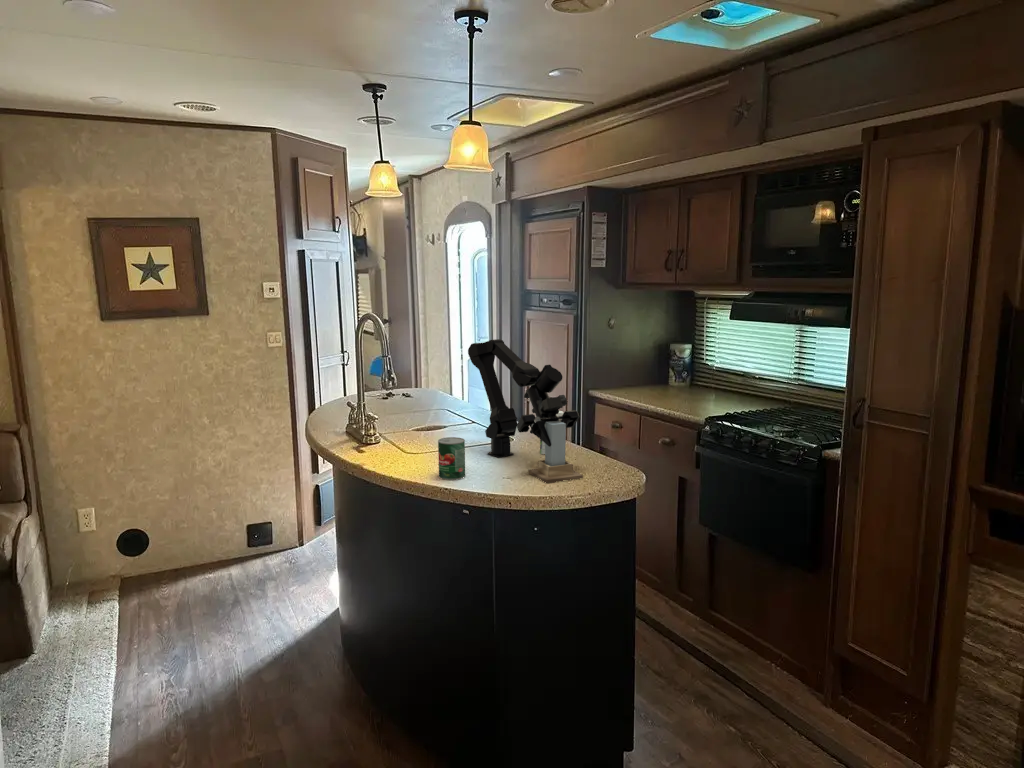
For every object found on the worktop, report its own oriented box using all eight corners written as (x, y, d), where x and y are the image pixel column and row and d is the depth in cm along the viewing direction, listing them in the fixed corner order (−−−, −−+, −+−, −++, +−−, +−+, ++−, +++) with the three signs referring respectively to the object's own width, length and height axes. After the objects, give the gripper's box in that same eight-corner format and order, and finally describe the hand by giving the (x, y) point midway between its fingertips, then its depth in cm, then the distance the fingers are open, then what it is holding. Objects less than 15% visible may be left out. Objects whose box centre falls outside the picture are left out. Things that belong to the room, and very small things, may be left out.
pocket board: (528, 472, 206) (528, 460, 206) (563, 468, 211) (563, 455, 211) (546, 483, 195) (546, 469, 195) (582, 478, 200) (583, 465, 200)
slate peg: (545, 464, 204) (545, 422, 202) (558, 463, 206) (558, 420, 204) (551, 468, 200) (552, 424, 198) (565, 466, 202) (565, 423, 200)
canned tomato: (468, 473, 206) (468, 438, 204) (460, 481, 198) (459, 444, 196) (444, 471, 208) (443, 436, 206) (434, 479, 200) (433, 442, 198)
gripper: (521, 388, 199) (537, 432, 191) (577, 384, 207) (595, 427, 198) (509, 410, 207) (525, 453, 199) (564, 405, 215) (581, 447, 207)
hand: (557, 445), depth 201 cm, fingers closed on slate peg, 4 cm apart
